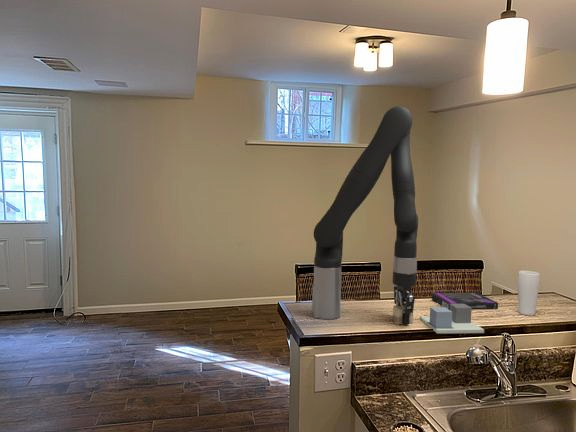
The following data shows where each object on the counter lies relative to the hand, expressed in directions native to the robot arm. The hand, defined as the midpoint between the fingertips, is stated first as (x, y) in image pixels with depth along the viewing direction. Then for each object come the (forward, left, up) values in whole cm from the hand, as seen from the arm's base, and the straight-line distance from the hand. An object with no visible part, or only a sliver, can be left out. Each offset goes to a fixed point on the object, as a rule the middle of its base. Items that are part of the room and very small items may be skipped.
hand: (402, 321), depth 147 cm
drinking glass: (+48, +8, -1) cm, 49 cm away
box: (+31, +21, -1) cm, 37 cm away
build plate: (+14, -4, 0) cm, 15 cm away
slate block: (+10, -6, +1) cm, 12 cm away
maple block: (0, 0, 0) cm, 0 cm away
